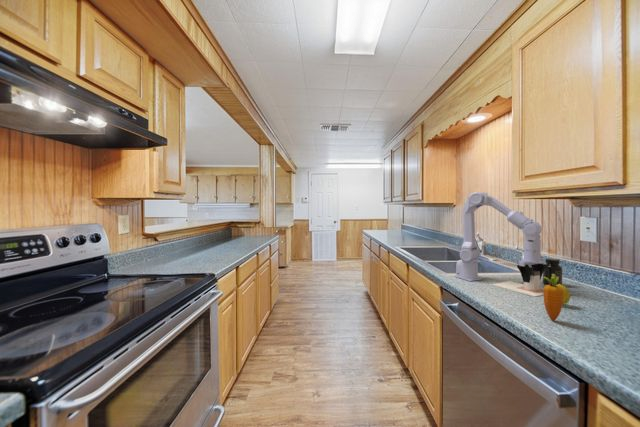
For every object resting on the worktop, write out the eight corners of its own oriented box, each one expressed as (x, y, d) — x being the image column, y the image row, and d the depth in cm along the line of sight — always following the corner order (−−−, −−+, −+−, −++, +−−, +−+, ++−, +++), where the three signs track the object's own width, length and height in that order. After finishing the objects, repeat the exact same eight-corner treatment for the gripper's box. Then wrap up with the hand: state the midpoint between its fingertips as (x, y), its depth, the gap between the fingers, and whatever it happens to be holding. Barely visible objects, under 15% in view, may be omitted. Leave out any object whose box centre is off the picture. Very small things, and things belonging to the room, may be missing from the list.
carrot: (556, 325, 82) (556, 277, 82) (539, 318, 87) (539, 273, 87) (567, 323, 84) (568, 275, 83) (549, 316, 89) (550, 272, 88)
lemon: (574, 308, 96) (574, 286, 96) (558, 308, 96) (558, 286, 96) (560, 302, 101) (560, 281, 101) (545, 302, 102) (546, 281, 101)
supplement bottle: (561, 284, 124) (561, 258, 124) (563, 288, 119) (563, 261, 119) (542, 282, 128) (542, 257, 128) (543, 285, 123) (543, 259, 123)
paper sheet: (491, 285, 124) (491, 284, 124) (510, 281, 129) (510, 280, 129) (534, 297, 108) (534, 295, 108) (554, 292, 112) (554, 291, 112)
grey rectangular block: (523, 288, 117) (524, 270, 117) (529, 287, 119) (529, 269, 119) (534, 291, 114) (534, 272, 114) (539, 289, 115) (540, 271, 115)
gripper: (531, 252, 109) (531, 285, 110) (552, 250, 115) (552, 281, 115) (513, 250, 116) (513, 281, 116) (534, 248, 121) (534, 277, 122)
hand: (531, 281), depth 116 cm, fingers open, 7 cm apart
